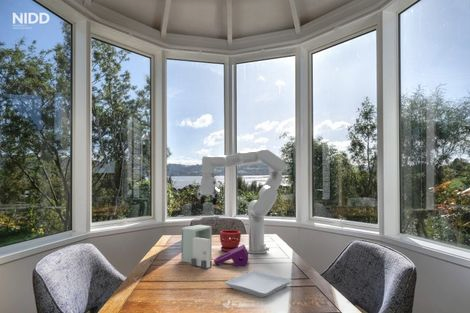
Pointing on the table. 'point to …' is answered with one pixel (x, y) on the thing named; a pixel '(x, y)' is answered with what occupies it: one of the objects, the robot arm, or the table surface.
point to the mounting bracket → (234, 256)
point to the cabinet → (187, 240)
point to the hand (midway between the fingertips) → (208, 204)
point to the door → (201, 250)
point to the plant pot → (229, 243)
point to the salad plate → (258, 283)
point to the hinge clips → (203, 263)
